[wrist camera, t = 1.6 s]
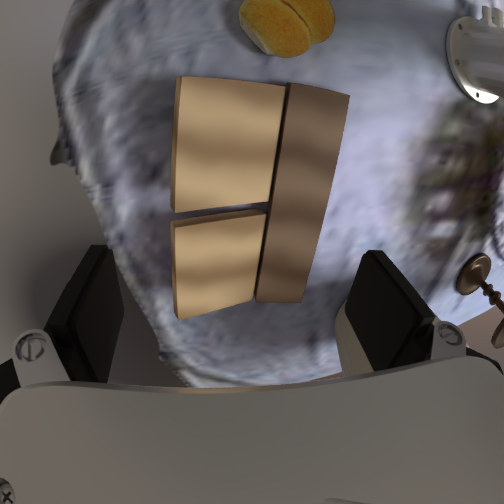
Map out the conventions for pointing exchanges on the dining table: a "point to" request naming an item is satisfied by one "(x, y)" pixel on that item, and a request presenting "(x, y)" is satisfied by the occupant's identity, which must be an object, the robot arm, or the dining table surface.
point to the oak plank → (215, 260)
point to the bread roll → (286, 24)
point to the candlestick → (475, 278)
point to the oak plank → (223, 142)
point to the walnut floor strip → (299, 190)
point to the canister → (353, 346)
